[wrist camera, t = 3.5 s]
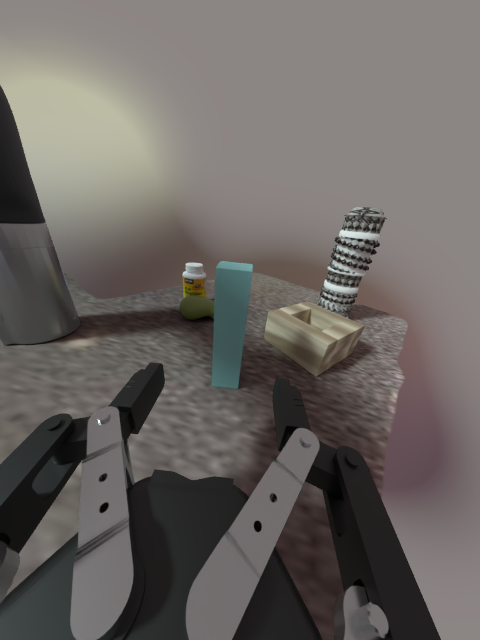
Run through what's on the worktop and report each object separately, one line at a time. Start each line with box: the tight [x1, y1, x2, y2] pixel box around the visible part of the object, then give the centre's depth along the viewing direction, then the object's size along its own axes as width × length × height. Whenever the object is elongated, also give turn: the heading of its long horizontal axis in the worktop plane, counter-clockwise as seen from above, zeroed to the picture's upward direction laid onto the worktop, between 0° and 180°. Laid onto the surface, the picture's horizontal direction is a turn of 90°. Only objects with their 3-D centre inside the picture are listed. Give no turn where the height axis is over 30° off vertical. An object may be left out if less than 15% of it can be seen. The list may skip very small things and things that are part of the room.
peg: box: [212, 261, 252, 389], centre depth 24 cm, size 4×4×16 cm
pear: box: [180, 295, 215, 320], centre depth 42 cm, size 6×5×10 cm
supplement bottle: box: [183, 263, 206, 298], centre depth 47 cm, size 6×6×10 cm
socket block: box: [264, 302, 365, 377], centre depth 35 cm, size 12×12×6 cm
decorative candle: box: [317, 208, 387, 318], centre depth 46 cm, size 9×9×25 cm
